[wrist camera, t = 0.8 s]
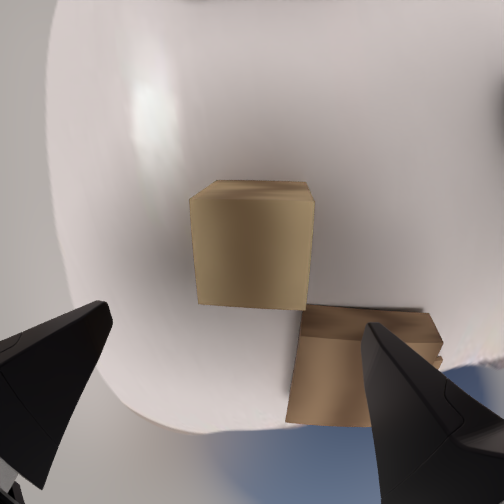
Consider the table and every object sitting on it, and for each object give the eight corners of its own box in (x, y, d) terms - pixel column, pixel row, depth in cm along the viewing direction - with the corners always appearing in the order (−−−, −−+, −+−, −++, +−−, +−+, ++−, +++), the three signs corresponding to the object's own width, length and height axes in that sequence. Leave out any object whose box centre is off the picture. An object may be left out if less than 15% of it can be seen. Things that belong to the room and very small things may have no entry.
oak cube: (305, 181, 18) (314, 201, 13) (300, 263, 21) (305, 310, 15) (216, 180, 19) (189, 199, 14) (220, 260, 21) (198, 304, 16)
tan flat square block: (428, 313, 20) (443, 343, 16) (391, 396, 24) (395, 426, 21) (303, 303, 22) (300, 335, 18) (289, 391, 26) (285, 422, 23)
